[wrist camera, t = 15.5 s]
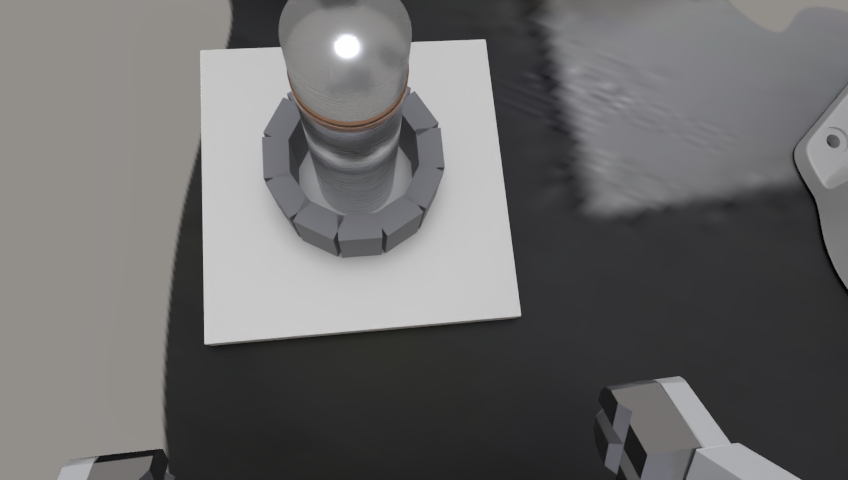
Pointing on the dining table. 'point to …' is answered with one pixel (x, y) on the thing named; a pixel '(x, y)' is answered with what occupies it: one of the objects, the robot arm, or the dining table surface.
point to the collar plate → (356, 233)
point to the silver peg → (349, 92)
